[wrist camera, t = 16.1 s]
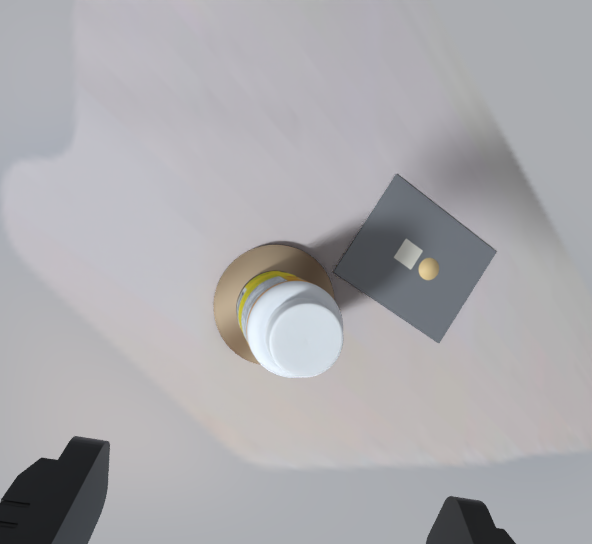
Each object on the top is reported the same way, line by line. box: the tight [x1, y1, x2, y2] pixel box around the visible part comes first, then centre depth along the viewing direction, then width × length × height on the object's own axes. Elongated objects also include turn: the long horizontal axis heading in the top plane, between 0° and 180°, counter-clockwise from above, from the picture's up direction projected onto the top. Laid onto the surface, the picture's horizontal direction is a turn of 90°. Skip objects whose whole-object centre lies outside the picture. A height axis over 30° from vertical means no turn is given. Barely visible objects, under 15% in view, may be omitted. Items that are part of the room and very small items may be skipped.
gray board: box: [334, 174, 496, 343], centre depth 36 cm, size 11×9×1 cm
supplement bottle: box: [236, 270, 343, 378], centre depth 28 cm, size 6×6×10 cm
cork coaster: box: [214, 245, 334, 365], centre depth 33 cm, size 9×9×1 cm
